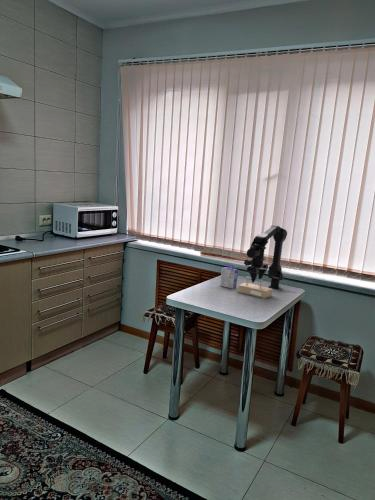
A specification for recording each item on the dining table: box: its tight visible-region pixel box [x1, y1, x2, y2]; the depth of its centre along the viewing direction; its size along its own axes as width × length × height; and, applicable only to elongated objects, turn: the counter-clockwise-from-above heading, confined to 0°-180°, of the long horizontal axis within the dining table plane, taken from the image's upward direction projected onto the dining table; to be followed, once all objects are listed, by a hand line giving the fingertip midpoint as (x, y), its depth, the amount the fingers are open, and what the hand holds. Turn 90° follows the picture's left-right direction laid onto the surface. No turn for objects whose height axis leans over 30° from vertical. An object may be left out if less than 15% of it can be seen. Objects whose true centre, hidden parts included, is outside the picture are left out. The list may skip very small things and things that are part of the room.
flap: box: [237, 275, 273, 292], centre depth 238 cm, size 9×18×7 cm, turn 54°
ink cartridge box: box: [219, 263, 239, 289], centre depth 251 cm, size 10×6×14 cm, turn 57°
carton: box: [237, 286, 273, 300], centre depth 239 cm, size 10×18×4 cm, turn 54°
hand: (256, 281), depth 238 cm, fingers open, 9 cm apart
